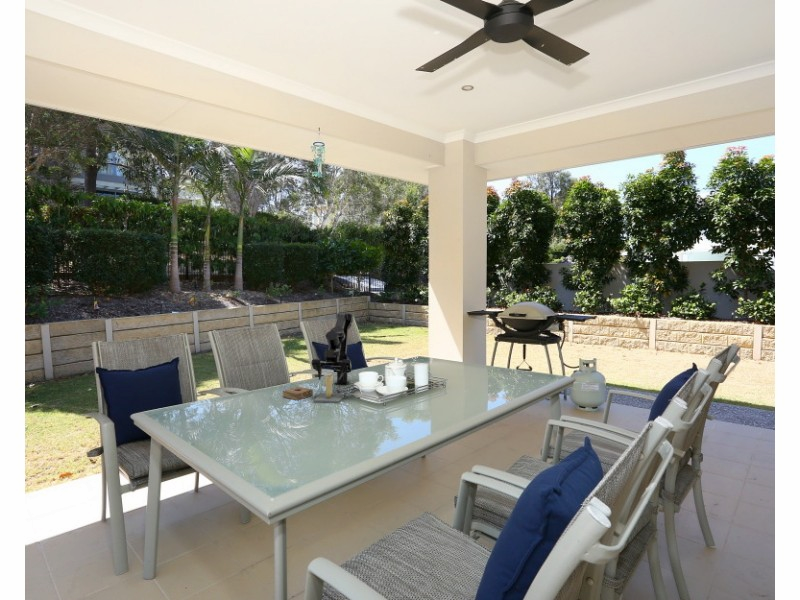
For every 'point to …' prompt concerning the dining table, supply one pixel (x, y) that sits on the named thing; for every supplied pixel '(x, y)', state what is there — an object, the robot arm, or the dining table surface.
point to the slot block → (298, 393)
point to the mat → (334, 399)
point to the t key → (328, 385)
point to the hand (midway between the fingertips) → (329, 379)
